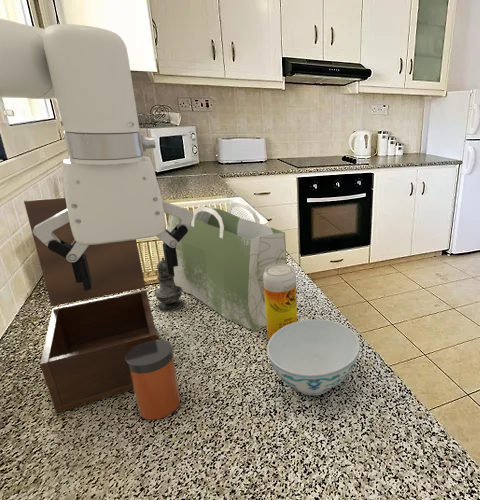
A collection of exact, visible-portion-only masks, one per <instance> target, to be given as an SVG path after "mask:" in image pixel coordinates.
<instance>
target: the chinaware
mask: <svg viewBox="0 0 480 500" xmlns="http://www.w3.org/2000/svg"><path fill="white" fill-rule="evenodd" d="M360 348H361V343H360V340H359V337H358V336H357V334H356V333H355V332H354V331H353V330H352V329H351V328H349V327H348V326H346V325H344V324H342V323H340V322H337V321H333V320H328V319H318V318H315V319H303V320H297V322H295V323H292V324H289V325H287V326H285V327H283V328H281V329H280V330H278V331H277V332H276V333H275V334H274V335H273V336H272V337H271V339H270V338H269V340H268V342H267V347H266V351H267V356H268V359H269V362H270V365H271V367H272V369H273V370H274V373H275V374H276V375H277V376H278V378H280V380H281V381H282V382H283V383H284V384H285V385H287V386H288V387H290V388H292V389H293V390H296V391H298V392H300V393H301V394H303V395H306V396H307V395H308V396H320V395H324V394H326V393H327V392H329V391H331V389H333V388H335V387H337V386H338V385H339V384H341V383H342V382H343V381H344V380H346V378H347V377H348V376H349V375H350V373H352V371H353V368H354V367H355V365H356V363H357V360H358V357H359V354H360Z"/></svg>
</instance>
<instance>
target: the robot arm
mask: <svg viewBox="0 0 480 500" xmlns="http://www.w3.org/2000/svg"><path fill="white" fill-rule="evenodd" d="M131 71H132V70H131V66H130V60H129V53H128V49H127V46H126V42H125V41H124V39H122V37H121V36H120V35H119V34H117V33H116V32H114V31H112V30H109V29H105V28H101V27H96V26H92V25H91V26H90V25H83V24H82V25H81V24H74V23H73V24H72V23H55V24H50V25H48V26H47V27H45V28H42V27H38V26H33V25H29V24H24V23H20V22H16V21H13V20H8V19H3V18H0V98H2V99H3V98H4V99H5V98H6V99H8V98H10V99H13V98H15V99H19V98H20V99H21V98H22V99H29V100H30V99H31V100H55V102H56V107H57V111H58V115H59V120H60V124H61V129H62V131H63V132H62V133H63V137H64V142H65V146H66V150H67V155H68V158H65V159H63V160H62V182H63V190H64V197H65V199H66V205H67V209H65V210H63V211H62V212H60V213H58V214H56V215H54V216H52V217H51V218H49V219H47V220H45V221H43V222H41V223H40V224H38V225H36V226H35V227H34V229H33V234H34V235H35V236H36V237H37V238H38V239H39V240H41V241H42V242H43V243H44V244H45V245H46V246H47V247H48V249H49V250H51V251H53V252H55V253H57V254H59V255H61V256H63V257H65V258H66V259H67V260H68V261H69V262H71V263H72V267H73V271H74V275H75V279H76V283H81V282H83V286H84V290H85V291H87V290H90V289H91V288H92V279H91V275H90V270H89V266H88V262H87V258H86V254H85V255H84V251H85V250H86V249H87V247H88V246H89V245H96V244H105V243H113V242H121V241H129V240H136V241H137V240H144V239H150V238H155V237H156V238H157V239H158V240H160V241H162V242H163V243H162V245H161V246H162V250H163V258H165V259H164V260H165V265H166V269H167V272H168V274H169V275H170V276H171V275H175V274H174V267H176V266H178V260H177V253H176V247H177V246H178V242H179V241H180V240H181V239H182V238H183V237H184V236H185V234H186V233H187V232H188V228H189V226H190V224H191V222H192V219H193V217H194V215H193V213H192V212H193V211H192V210H190V209H188V208H184V207H181V206H179V205H177V204H174V203H170V202H168V201H165V200H163V198H162V195H161V189H160V186H159V183H158V182H159V181H158V179H157V175H156V171H155V168H154V165H153V162H152V160H151V157H150V156H145V152H146V151H147V150H150V149H156V140H155V137H153V136H152V137H151V136H150V137H149V136H148V135H144V134H142V133H141V132H140V124H139V118H138V111H137V105H136V104H137V103H136V97H135V91H134V84H133V78H132V72H131ZM165 214H167V215H169V214H170V215H173V216H176V217H179V218H180V220H179V223H178V225H177V226H176V227H175V228H174V229H173V230H172V231H171V232H170V231H168V230H167V221H166V215H165ZM68 222H70V226H71V230H72V234H73V237H74V239H75V240H74V241H73V243H72V244H71V245H70V244H69V243H67V242H65V241H63V240H61V239H59V238H57V237H56V236H55V234H54V233H53V231H54V230H56V229H58V228H59V227H61V226H63V225H65V224H67V223H68ZM33 234H32V235H33Z"/></svg>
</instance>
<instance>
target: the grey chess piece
mask: <svg viewBox="0 0 480 500" xmlns="http://www.w3.org/2000/svg"><path fill="white" fill-rule="evenodd" d="M156 268H157V274H158V275H157V276H156V279H157V280H158V281H159V282H158V283H159V288H158V289H156V290H155V291H154V293H153V294H154V295H153V296H154V297H156V299H157V301H158V302H159V304H158V306H157V308H158V310H159V311H162V312H168V311H174V310H177V309H179V308H181V307H182V306H183V305H184V301H183V300H182V299H180V298H181V296H182V292H183V291H182V290H183V289H182V288H181V287H180V286H176V285H175V283H174V276H175V275H171V276H170V275H169V274H168V272H167V269H166V265H165V258H164V256H163V257H161V259H160V261H159V262H157V264H156Z"/></svg>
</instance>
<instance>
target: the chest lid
mask: <svg viewBox="0 0 480 500" xmlns="http://www.w3.org/2000/svg"><path fill="white" fill-rule="evenodd" d="M23 203H24V207H25V212H26V215H27V219H28V222H29V226H30V230H31V234H32V239H33V243H34V246H35V249H36V250H35V251H36V254H37V257H38V260H39V266H40V269H41V271H42V272H41V273H42V276H43V279H44V280H43V281H44V284H45V287H46V291H47V295H48V299H49V303H50V307H55V306H56V307H57V306H62V305H65V304H72V303H75V302H76V303H77V302H80V301H81V302H82V301H85V300H86V301H87V300H92V299H97V298H102V297H107V296H110V295H111V296H112V295H115V294H116V295H117V294H120V293H121V294H122V293H127V292H132V291H137V290H142V289H146V282H145V278H144V271H143V268H142V262H141V257H140V251H139V247H138V242H137V240H129V241H121V242H113V243H105V244H96V245H89V246H88V247H87V249H86V250H85V251H84V255H85V254H86V258H87V262H88V266H89V270H90V275H91V279H92V288H91V289H90V290H87V291H85V290H84V286H83V282H81V283H76V279H75V275H74V271H73V267H72V263H71V262H69V261H68V260H67V259H66V258H65V257H63V256H61V255H59V254H57V253H55V252H53V251H51V250H49V249H48V247H47V246H46V245H45V244H44V243H43V242H42V241H41V240H39V239H38V238H37V237H36V236H35V235H34V234H33V229H34V227H35V226H36V225H38V224H40V223H41V222H43V221H45V220H47V219H49V218H51V217H52V216H54V215H56V214H58V213H60V212H62V211H63V210H65V209H67V205H66V199H65V196H64V197H53V198H41V199H40V198H39V199H29V200H23ZM53 233H54V234H55V236H56V237H57V238H59V239H61V240H63V241H65V242H67V243H69V244H70V245H71V244H72V243H73V241H74V240H75V239H74V237H73V234H72V230H71V226H70V222H68V223H67V224H65V225H63V226H61V227H59V228H58V229H56V230H54V231H53Z"/></svg>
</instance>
